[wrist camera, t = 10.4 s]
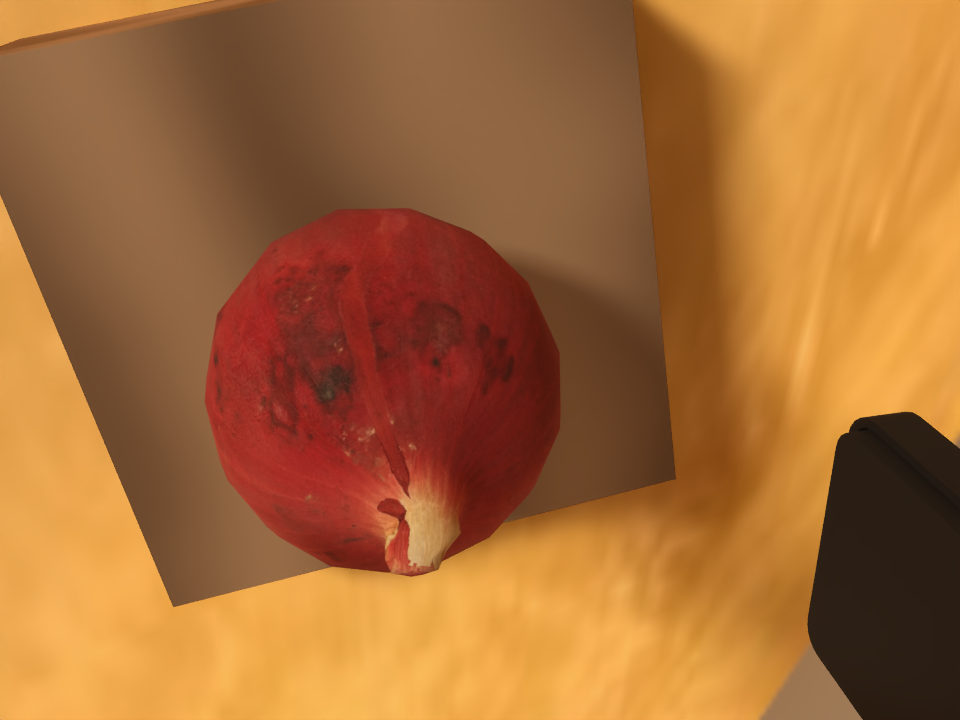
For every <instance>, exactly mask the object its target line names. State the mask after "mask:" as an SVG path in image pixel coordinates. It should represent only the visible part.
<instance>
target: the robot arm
mask: <svg viewBox="0 0 960 720" xmlns="http://www.w3.org/2000/svg"><path fill="white" fill-rule="evenodd" d="M808 633H809V637H810V641H811V643H812V646H813V648H814V650H815V652H816V654H817V655H818V657H819V658H820V660H821V661H822V662H823V664H824V665H825V666H826V668H827V670H828V671H829V672H830V674H831V675H832V677H833V678H834V679H835V681H836V682H837V684H838V685H839V687H840V688H841V689H842V691H843V692H844V694H845V695H846V696H847V698H848V699H849V701H850V702H851V704H852V705H853V707H854V708H855V709H856V711H857V712H858V714H859V715H860V716H861V718H862V719H863V720H960V449H959V448H958V447H957V446H956V445H954V444H953V443H952V442H951V441H949V440H948V439H947V438H946V437H945V436H943V435H942V434H941V433H940V432H938V431H937V430H936V429H935V428H933V427H932V426H931V425H930V424H929V423H927V422H926V421H925V420H924V419H922V418H921V417H920V416H918V415H916V414H914V413H913V412H900V413H893V414H885V415H878V416H870V417H863V418H859V419H858V420H856V421H854V423H853V424H852V426H851V427H850V430H849V433H845V434H843V435H841V437H840V438H839V440H838V442H837V446H836V451H835V457H834V463H833V469H832V475H831V481H830V487H829V493H828V499H827V505H826V511H825V517H824V523H823V529H822V535H821V541H820V547H819V553H818V560H817V566H816V572H815V578H814V584H813V590H812V596H811V602H810V608H809V614H808Z"/></svg>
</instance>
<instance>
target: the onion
mask: <svg viewBox="0 0 960 720" xmlns="http://www.w3.org/2000/svg"><path fill="white" fill-rule="evenodd" d="M205 405H206V409H207V413H208V417H209V421H210V425H211V428H212V432H213V436H214V440H215V444H216V447H217V451H218V455H219V459H220V463H221V465H222V467H223V470H224V472H225V475H226V477H227V480H228V482H229V483H230V484H231V485H232V486H233V487H234V489H235V490H236V491H237V492H238V493H239V494H240V496H241V497H242V498H243V499H244V500H245V502H246V503H247V504H248V505H249V506H250V507H251V509H252V510H253V511H254V512H255V513H256V514H257V516H258V517H259V518H260V519H261V520H262V522H263V523H264V524H265V525H266V526H267V527H268V528H269V529H270V530H271V531H272V532H274V533H275V534H276V535H277V536H278V537H280V538H281V539H283V540H285V541H287V542H288V543H290V544H292V545H294V546H295V547H297V548H299V549H301V550H302V551H304V552H306V553H308V554H309V555H311V556H313V557H315V558H316V559H318V560H320V561H322V562H323V563H325V564H327V565H329V566H332V567H342V568H351V569H360V570H370V571H379V572H391V573H392V574H398V575H405V576H411V577H412V576H418V575H423V574H426V573H429V572H432V571H435V570H438V569H439V566H440V564H441V562H442V561H444V560H446V559H447V558H449V557H451V556H453V555H455V554H457V553H459V552H461V551H463V550H465V549H467V548H469V547H471V546H473V545H475V544H477V543H479V542H481V541H483V540H485V539H487V538H489V537H490V536H491V535H492V534H493V533H494V531H495V530H496V529H497V528H498V527H499V526H500V525H501V524H502V523H503V522H504V521H505V520H506V519H507V518H508V516H509V515H510V514H511V513H512V512H513V511H514V510H515V509H516V508H517V507H518V506H519V505H520V504H521V503H522V501H523V500H524V499H525V498H526V497H527V496H528V495H529V493H530V492H531V490H532V489H533V488H534V486H535V485H536V482H537V480H538V478H539V476H540V473H541V471H542V469H543V466H544V464H545V462H546V460H547V457H548V455H549V453H550V451H551V448H552V446H553V444H554V442H555V439H556V437H557V435H558V432H559V430H560V417H561V397H560V352H559V350H558V348H557V345H556V343H555V340H554V338H553V335H552V333H551V331H550V329H549V326H548V324H547V322H546V320H545V318H544V316H543V314H542V311H541V309H540V307H539V305H538V303H537V301H536V298H535V296H534V294H533V292H532V290H531V288H530V286H529V283H528V282H527V281H526V280H525V279H524V278H523V277H522V276H521V275H520V274H519V273H518V272H517V271H516V270H515V269H514V268H513V267H512V266H511V265H510V264H508V263H507V262H506V261H505V260H504V259H503V258H502V257H501V256H500V255H499V254H498V253H497V252H496V251H495V250H494V249H493V248H492V247H491V246H490V245H489V244H488V243H487V242H486V241H485V240H483V239H482V238H480V237H479V236H477V235H475V234H474V233H472V232H471V231H468V230H465V229H463V228H460V227H458V226H455V225H452V224H450V223H447V222H445V221H442V220H439V219H437V218H434V217H432V216H429V215H426V214H424V213H421V212H418V211H416V210H413V209H411V208H388V209H337V210H335V211H333V212H331V213H329V214H327V215H325V216H323V217H321V218H319V219H317V220H315V221H313V222H311V223H309V224H307V225H305V226H303V227H301V228H299V229H297V230H295V231H293V232H291V233H289V234H287V235H285V236H283V237H281V238H279V239H277V240H275V241H273V242H271V243H270V245H269V246H268V247H267V249H266V250H265V251H264V253H263V254H262V255H261V257H260V258H259V259H258V261H257V262H256V263H255V264H254V266H253V267H252V268H251V270H250V271H249V272H248V274H247V275H246V276H245V278H244V279H243V280H242V282H241V283H240V284H239V286H238V287H237V288H236V290H235V291H234V292H233V294H232V295H231V296H230V298H229V299H228V300H227V301H226V303H225V304H224V305H223V307H222V308H221V309H220V311H219V312H218V313H217V318H216V324H215V330H214V336H213V341H212V347H211V353H210V359H209V365H208V371H207V377H206V390H205Z"/></svg>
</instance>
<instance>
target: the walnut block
mask: <svg viewBox="0 0 960 720" xmlns="http://www.w3.org/2000/svg"><path fill="white" fill-rule="evenodd" d="M0 195H1V197H2V200H3V202H4V204H5V207H6V209H7V212H8V214H9V216H10V219H11V221H12V224H13V226H14V228H15V231H16V233H17V235H18V238H19V240H20V243H21V245H22V247H23V250H24V252H25V255H26V257H27V259H28V262H29V264H30V266H31V269H32V271H33V274H34V276H35V278H36V281H37V283H38V286H39V288H40V290H41V293H42V295H43V297H44V300H45V302H46V305H47V307H48V309H49V312H50V314H51V317H52V319H53V321H54V324H55V326H56V328H57V331H58V333H59V336H60V338H61V340H62V343H63V345H64V347H65V350H66V352H67V355H68V357H69V359H70V362H71V364H72V367H73V369H74V371H75V374H76V376H77V378H78V381H79V383H80V386H81V388H82V390H83V393H84V395H85V398H86V400H87V402H88V405H89V407H90V409H91V412H92V414H93V417H94V419H95V421H96V424H97V426H98V429H99V431H100V433H101V436H102V438H103V440H104V443H105V445H106V448H107V450H108V452H109V455H110V457H111V460H112V462H113V464H114V467H115V469H116V471H117V474H118V476H119V479H120V481H121V483H122V486H123V488H124V491H125V493H126V495H127V498H128V500H129V502H130V505H131V507H132V510H133V512H134V514H135V517H136V519H137V522H138V524H139V526H140V529H141V531H142V533H143V536H144V538H145V541H146V543H147V545H148V548H149V550H150V553H151V555H152V557H153V560H154V562H155V564H156V567H157V569H158V572H159V574H160V576H161V579H162V581H163V583H164V586H165V588H166V591H167V593H168V595H169V598H170V600H171V603H172V605H173V607H176V606H180V605H184V604H188V603H191V602H195V601H199V600H203V599H207V598H211V597H215V596H219V595H223V594H227V593H231V592H235V591H238V590H242V589H246V588H250V587H254V586H258V585H262V584H266V583H270V582H274V581H278V580H282V579H286V578H289V577H293V576H297V575H301V574H305V573H309V572H313V571H317V570H321V569H325V568H329V567H332V566H329V565H327V564H325V563H323V562H322V561H320V560H318V559H316V558H315V557H313V556H311V555H309V554H308V553H306V552H304V551H302V550H301V549H299V548H297V547H295V546H294V545H292V544H290V543H288V542H287V541H285V540H283V539H281V538H280V537H278V536H277V535H276V534H275V533H274V532H272V531H271V530H270V529H269V528H268V527H267V526H266V525H265V524H264V523H263V522H262V520H261V519H260V518H259V517H258V516H257V514H256V513H255V512H254V511H253V510H252V509H251V507H250V506H249V505H248V504H247V503H246V502H245V500H244V499H243V498H242V497H241V496H240V494H239V493H238V492H237V491H236V490H235V489H234V487H233V486H232V485H231V484H230V483H229V482H228V480H227V477H226V475H225V472H224V470H223V467H222V465H221V463H220V459H219V455H218V451H217V447H216V444H215V440H214V436H213V432H212V428H211V425H210V421H209V417H208V413H207V409H206V405H205V390H206V377H207V371H208V365H209V359H210V353H211V347H212V341H213V336H214V330H215V324H216V318H217V313H218V312H219V311H220V309H221V308H222V307H223V305H224V304H225V303H226V301H227V300H228V299H229V298H230V296H231V295H232V294H233V292H234V291H235V290H236V288H237V287H238V286H239V284H240V283H241V282H242V280H243V279H244V278H245V276H246V275H247V274H248V272H249V271H250V270H251V268H252V267H253V266H254V264H255V263H256V262H257V261H258V259H259V258H260V257H261V255H262V254H263V253H264V251H265V250H266V249H267V247H268V246H269V245H270V243H271V242H273V241H275V240H277V239H279V238H281V237H283V236H285V235H287V234H289V233H291V232H293V231H295V230H297V229H299V228H301V227H303V226H305V225H307V224H309V223H311V222H313V221H315V220H317V219H319V218H321V217H323V216H325V215H327V214H329V213H331V212H333V211H335V210H337V209H388V208H411V209H413V210H416V211H418V212H421V213H424V214H426V215H429V216H432V217H434V218H437V219H439V220H442V221H445V222H447V223H450V224H452V225H455V226H458V227H460V228H463V229H465V230H468V231H471V232H472V233H474V234H475V235H477V236H479V237H480V238H482V239H483V240H485V241H486V242H487V243H488V244H489V245H490V246H491V247H492V248H493V249H494V250H495V251H496V252H497V253H498V254H499V255H500V256H501V257H502V258H503V259H504V260H505V261H506V262H507V263H508V264H510V265H511V266H512V267H513V268H514V269H515V270H516V271H517V272H518V273H519V274H520V275H521V276H522V277H523V278H524V279H525V280H526V281H527V282H528V283H529V286H530V288H531V290H532V292H533V294H534V296H535V298H536V301H537V303H538V305H539V307H540V309H541V311H542V314H543V316H544V318H545V320H546V322H547V324H548V326H549V329H550V331H551V333H552V335H553V338H554V340H555V343H556V345H557V348H558V350H559V352H560V397H561V417H560V430H559V432H558V435H557V437H556V439H555V442H554V444H553V446H552V448H551V451H550V453H549V455H548V457H547V460H546V462H545V464H544V466H543V469H542V471H541V473H540V476H539V478H538V480H537V482H536V485H535V486H534V488H533V489H532V490H531V492H530V493H529V495H528V496H527V497H526V498H525V499H524V500H523V501H522V503H521V504H520V505H519V506H518V507H517V508H516V509H515V510H514V511H513V512H512V513H511V514H510V515H509V516H508V518H507V519H506V520H505V521H504V522H503V523H505V522H509V521H513V520H517V519H521V518H525V517H529V516H532V515H536V514H540V513H544V512H548V511H552V510H556V509H560V508H564V507H568V506H572V505H576V504H579V503H583V502H587V501H591V500H595V499H599V498H603V497H607V496H611V495H615V494H619V493H623V492H626V491H630V490H634V489H638V488H642V487H646V486H650V485H654V484H658V483H662V482H666V481H670V480H674V479H676V477H675V466H674V455H673V444H672V433H671V422H670V411H669V400H668V389H667V378H666V367H665V355H664V344H663V333H662V322H661V311H660V300H659V289H658V278H657V267H656V256H655V245H654V234H653V223H652V212H651V201H650V190H649V179H648V168H647V157H646V146H645V135H644V124H643V113H642V102H641V91H640V80H639V69H638V58H637V47H636V36H635V25H634V14H633V3H632V0H215V1H210V2H205V3H200V4H195V5H189V6H184V7H179V8H174V9H169V10H164V11H159V12H154V13H149V14H144V15H139V16H134V17H129V18H124V19H119V20H114V21H109V22H103V23H98V24H93V25H88V26H83V27H78V28H73V29H68V30H63V31H58V32H53V33H48V34H43V35H38V36H33V37H28V38H23V39H19V40H16V41H13V42H11V43H8V44H5V45H3V46H0Z"/></svg>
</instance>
